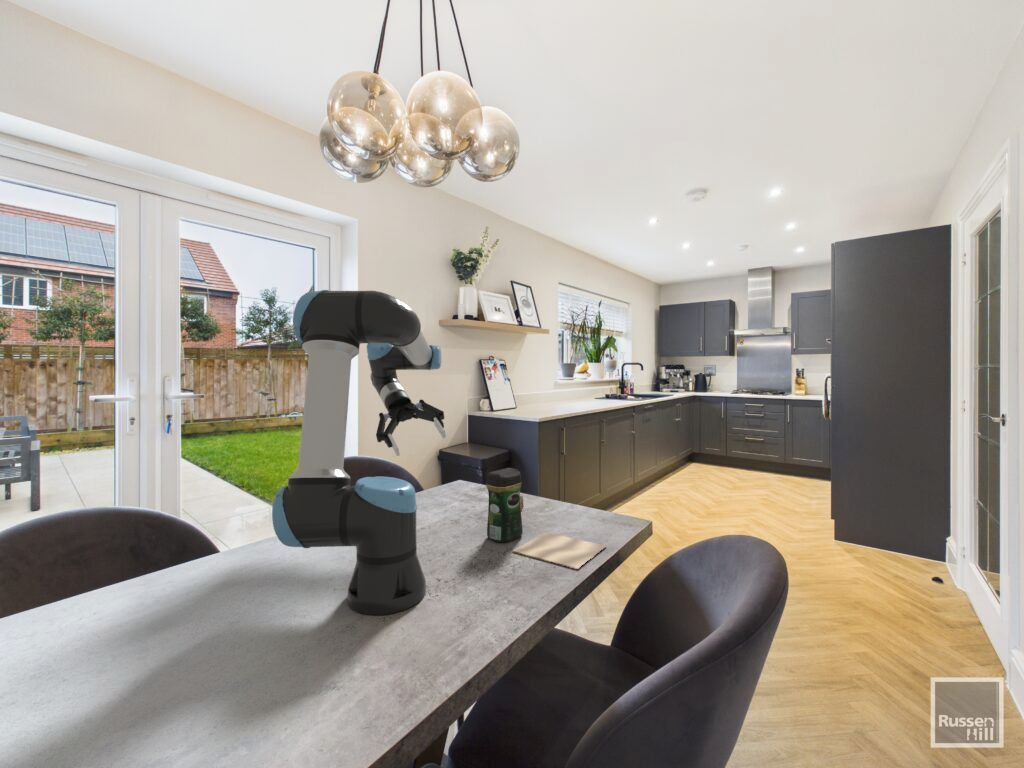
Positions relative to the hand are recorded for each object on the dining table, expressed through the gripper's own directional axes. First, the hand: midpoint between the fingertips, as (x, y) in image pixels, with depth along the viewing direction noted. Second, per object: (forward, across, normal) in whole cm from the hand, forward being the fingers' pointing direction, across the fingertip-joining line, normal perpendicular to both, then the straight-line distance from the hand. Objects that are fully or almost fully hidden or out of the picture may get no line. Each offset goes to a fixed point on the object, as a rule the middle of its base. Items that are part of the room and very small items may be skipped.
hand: (421, 443), depth 123 cm
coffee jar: (+26, -12, -19) cm, 34 cm away
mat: (+40, -20, -13) cm, 46 cm away
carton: (+13, -20, -31) cm, 40 cm away
